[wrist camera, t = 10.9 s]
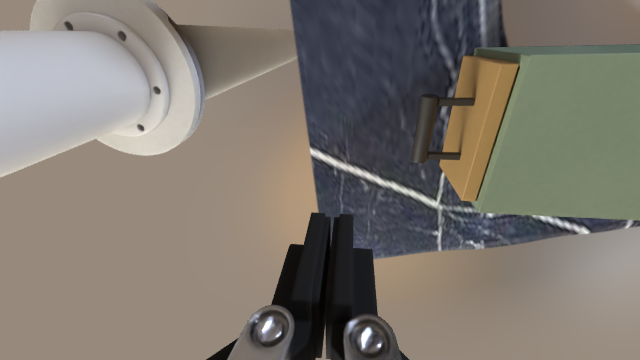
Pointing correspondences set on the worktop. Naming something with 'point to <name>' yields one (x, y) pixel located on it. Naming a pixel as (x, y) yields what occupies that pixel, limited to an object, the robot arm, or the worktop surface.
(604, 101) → the green box
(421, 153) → the wooden pull-out drawer
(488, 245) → the worktop surface
